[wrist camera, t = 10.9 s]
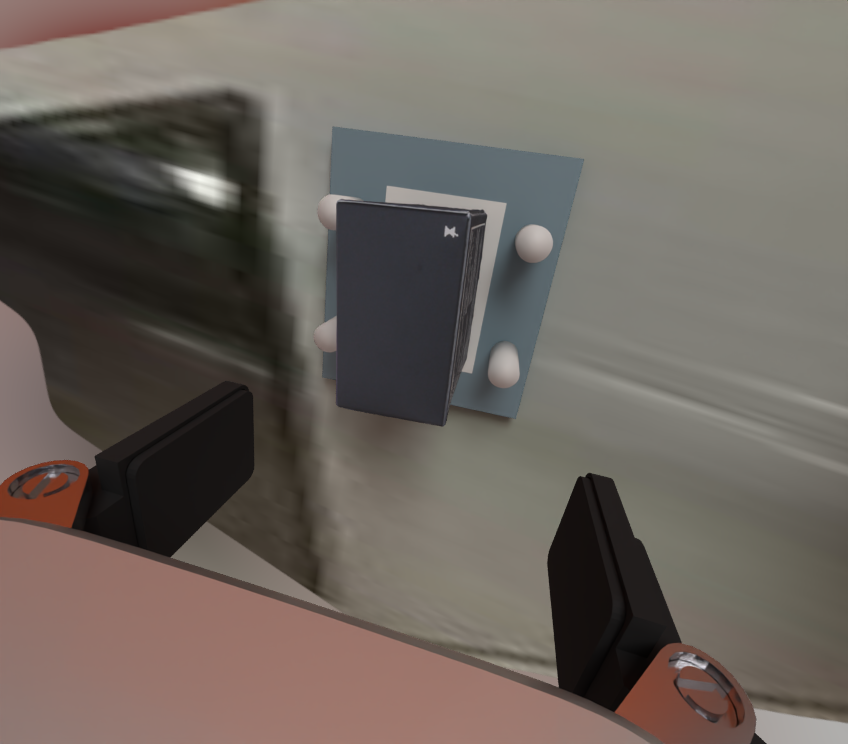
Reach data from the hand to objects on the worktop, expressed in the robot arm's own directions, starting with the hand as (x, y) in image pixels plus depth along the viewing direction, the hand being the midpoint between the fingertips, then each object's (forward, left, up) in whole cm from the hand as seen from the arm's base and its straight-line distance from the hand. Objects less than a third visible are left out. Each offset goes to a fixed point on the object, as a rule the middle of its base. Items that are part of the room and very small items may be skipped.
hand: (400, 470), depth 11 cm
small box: (+3, -2, -19) cm, 19 cm away
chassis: (+3, -2, -20) cm, 20 cm away
